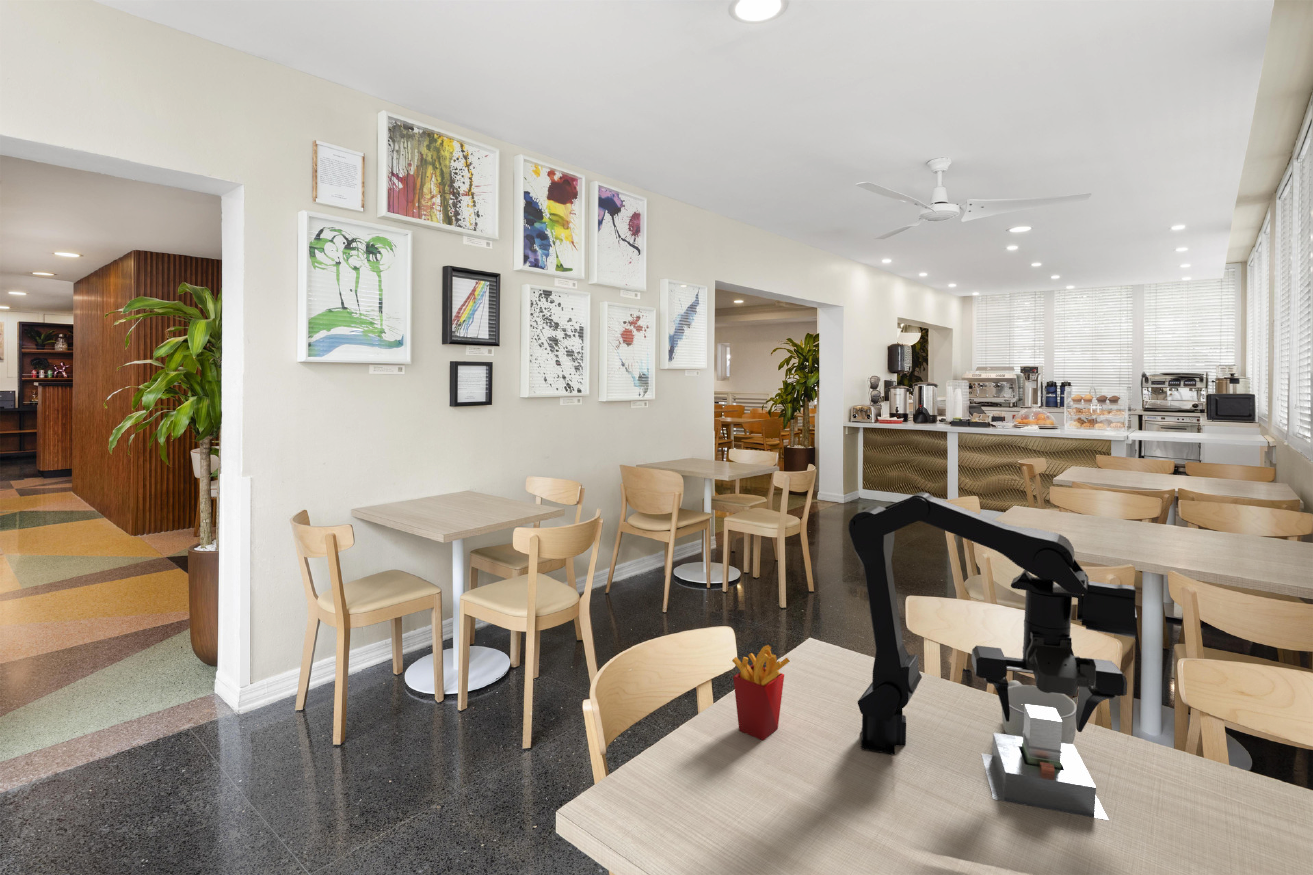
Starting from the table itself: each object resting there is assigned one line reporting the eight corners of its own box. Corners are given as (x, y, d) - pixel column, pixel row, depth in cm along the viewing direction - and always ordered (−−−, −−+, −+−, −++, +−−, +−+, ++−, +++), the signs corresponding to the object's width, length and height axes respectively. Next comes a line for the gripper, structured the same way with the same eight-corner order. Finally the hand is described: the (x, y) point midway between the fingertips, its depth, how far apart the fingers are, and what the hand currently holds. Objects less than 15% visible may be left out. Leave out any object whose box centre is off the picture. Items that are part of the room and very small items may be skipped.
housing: (993, 805, 93) (994, 765, 92) (980, 759, 104) (982, 723, 103) (1108, 826, 88) (1110, 784, 88) (1082, 775, 99) (1084, 738, 99)
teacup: (1086, 767, 102) (1089, 718, 101) (1011, 759, 104) (1013, 711, 103) (1051, 721, 115) (1053, 677, 114) (985, 715, 117) (987, 672, 117)
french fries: (731, 730, 113) (731, 647, 111) (756, 712, 119) (757, 632, 118) (775, 749, 107) (776, 661, 106) (800, 728, 113) (801, 645, 112)
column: (1027, 763, 94) (1029, 717, 94) (1021, 747, 98) (1023, 703, 98) (1060, 768, 93) (1063, 721, 92) (1053, 752, 97) (1055, 707, 96)
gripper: (983, 634, 89) (979, 743, 91) (1145, 652, 83) (1138, 768, 84) (972, 607, 100) (969, 705, 101) (1116, 621, 94) (1110, 725, 95)
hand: (1042, 725), depth 95 cm, fingers open, 9 cm apart
